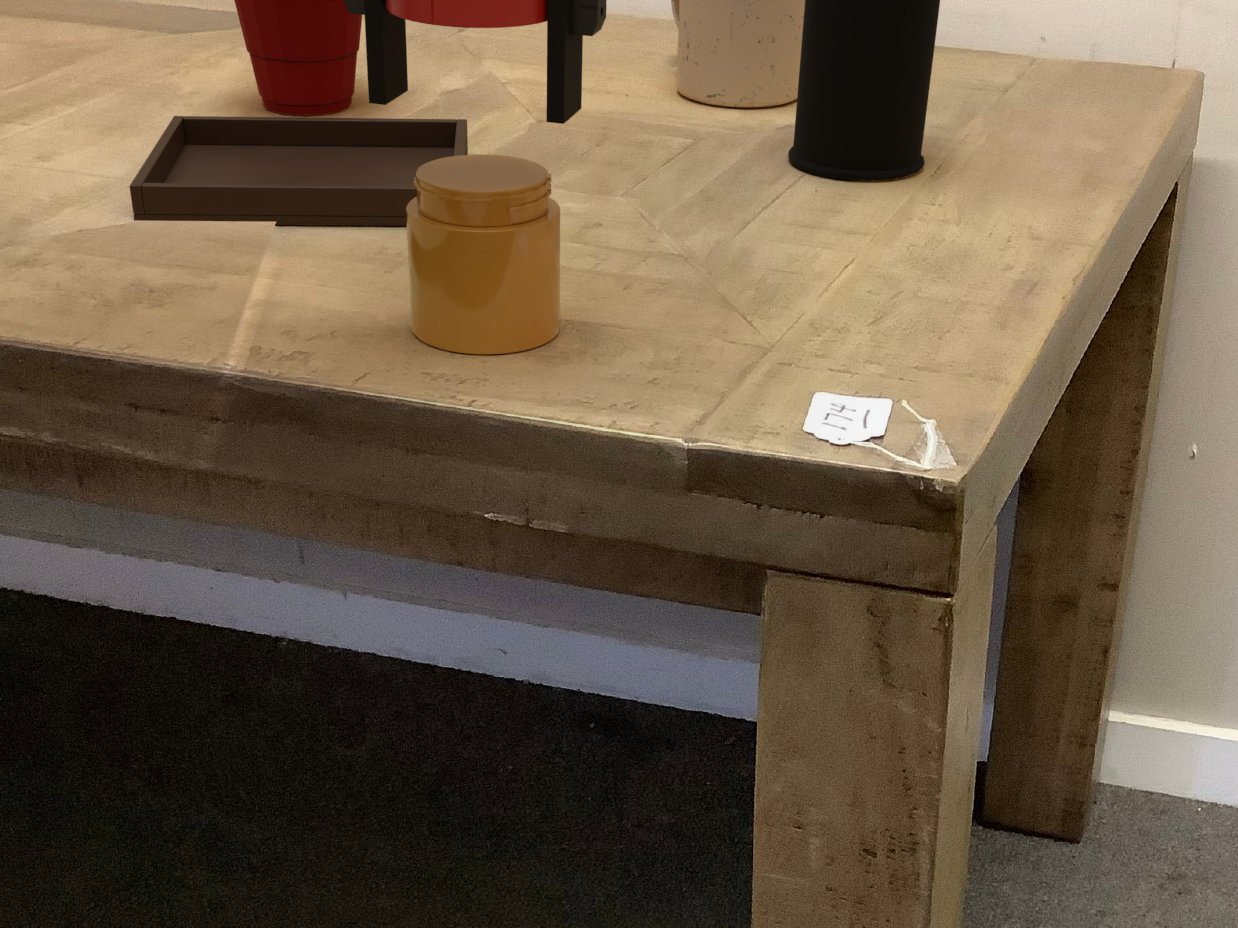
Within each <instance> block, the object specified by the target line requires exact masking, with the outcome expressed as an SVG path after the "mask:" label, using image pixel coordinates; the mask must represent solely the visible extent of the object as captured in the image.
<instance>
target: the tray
mask: <svg viewBox="0 0 1238 928" xmlns="http://www.w3.org/2000/svg"><path fill="white" fill-rule="evenodd" d="M468 138H469V137H468V120H467V119H463V118H457V119H456V118H387V117H386V118H383V117H381V118H380V117H379V118H378V117H377V118H376V117H303V116H302V117H300V116H299V117H298V116H296V117H295V116H293V117H292V116H291V117H289V116H215V115H214V116H212V115H209V116H208V115H207V116H206V115H205V116H204V115H203V116H202V115H185V116H184V115H173V117H172V119H171V120H170V121H169V123H168V125H167V126H166V128H165V130H164V131H163V133H162V134H161V136H160V137H159V139H158V141H157V142H156V143H155V145H154V147H153V148H152V150H151V152H150V153H149V155H148V156H147V158H146V160H145V161H144V162H143V164H142V165H141V167H140V169H139V170H138V171H137V174H136V175H135V176H134V178H133V180H132V182H131V183H130V185H129V193H130V200H131V206H132V213H133V214H132V215H133V220H134V221H139V222H140V221H141V222H143V221H144V222H146V221H147V222H148V221H149V222H152V221H153V222H158V221H159V222H160V221H161V222H259V223H260V222H264V223H265V222H267V223H274V222H275V224H274V225H275V226H339V227H340V226H341V227H342V226H345V227H347V226H351V227H352V226H357V227H363V226H364V227H365V226H366V227H407V222H406V206H407V204H408V203H409V201H411V200H412V199H413V198H415V197H417V192H416V188H415V187H414V186H413V182H414V177H416V171H417V169H418V168H419V167H420V166H422V165H423V164H425V163H428V162H430V161H433V160H437V159H441V158H445V157H451V156H459V155H469V144H468V143H469V142H468Z"/></svg>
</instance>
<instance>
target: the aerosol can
mask: <svg viewBox="0 0 1238 928" xmlns="http://www.w3.org/2000/svg"><path fill="white" fill-rule="evenodd" d="M940 4H941V0H805V8H804V21H803V33H802V45H801V58H800V70H799V83H798V95H797V99H796V108H795V121H794V131H793V132H794V134H793V145H792V146H791V147H790V148H789V150H788V152H787V157H788V160H789V161H790V163H791V164H792V165H793V166H795V167H796V168H798V169H800V170H802V171H805V172H808V173H811V174H812V175H817V176H821V177H826V178H831V179H838V180H849V181H861V180H865V181H870V180H873V181H874V182H875V181H876V182H877V181H890V180H897V179H896V178H899V179H903V178H906V177H905V176H908V175H911V174H913V175H915V174H914V173H916V174H917V173H918V171H919V170H920V169H921V170H922V169H923V168H924V166H925V164H926V163H925V158H924V156H923V155H922V152H923V145H924V134H925V127H926V126H925V125H926V120H927V119H926V118H927V112H928V111H927V110H928V103H929V95H930V86H931V79H932V78H931V77H932V72H933V71H932V69H933V62H934V55H935V48H936V47H935V46H936V39H937V30H938V21H939V13H940V7H941V6H940ZM921 170H920V171H921ZM920 171H919V172H920ZM911 176H912V175H911ZM902 177H903V178H902ZM908 177H909V176H908ZM873 181H872V182H873ZM870 182H871V181H870Z"/></svg>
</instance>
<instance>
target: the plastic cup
mask: <svg viewBox="0 0 1238 928" xmlns="http://www.w3.org/2000/svg"><path fill="white" fill-rule="evenodd" d="M233 1H234V4H235V9H236V13H237V16H238V20H239V24H240V28H241V32H242V36H243V40H244V44H245V48H246V51H247V53H248V54H249V57H250V62H251V66H252V71H253V74H254V79H255V83H256V87H257V92H258V95H259V96H260V97H261V100H262V101H261V102H262V106H264V108H265V109H266V110H269V111H271V112H274V113H278V114H283V115H284V114H285V115H291V116H319V115H320V116H321V115H327V114H332V113H338V112H342V111H345V110H347V109H349V108H351V105H352V102H353V95H354V93H355V87H356V86H355V85H356V73H357V62H358V61H357V60H358V52H359V50H360V44H361V32H362V23H363V15H361V14H350V13H349V12H348V10H347V7H346V5H345V2H344V0H233Z"/></svg>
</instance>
